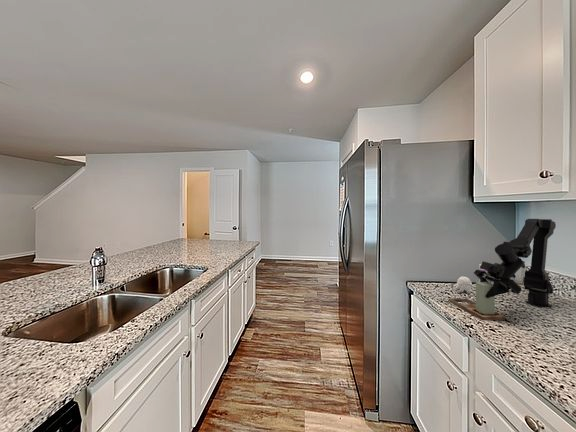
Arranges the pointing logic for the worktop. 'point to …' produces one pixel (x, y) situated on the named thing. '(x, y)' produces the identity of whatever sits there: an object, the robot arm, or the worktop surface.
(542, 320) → the worktop surface
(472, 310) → the copper brown frame
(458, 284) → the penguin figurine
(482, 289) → the sage peg
